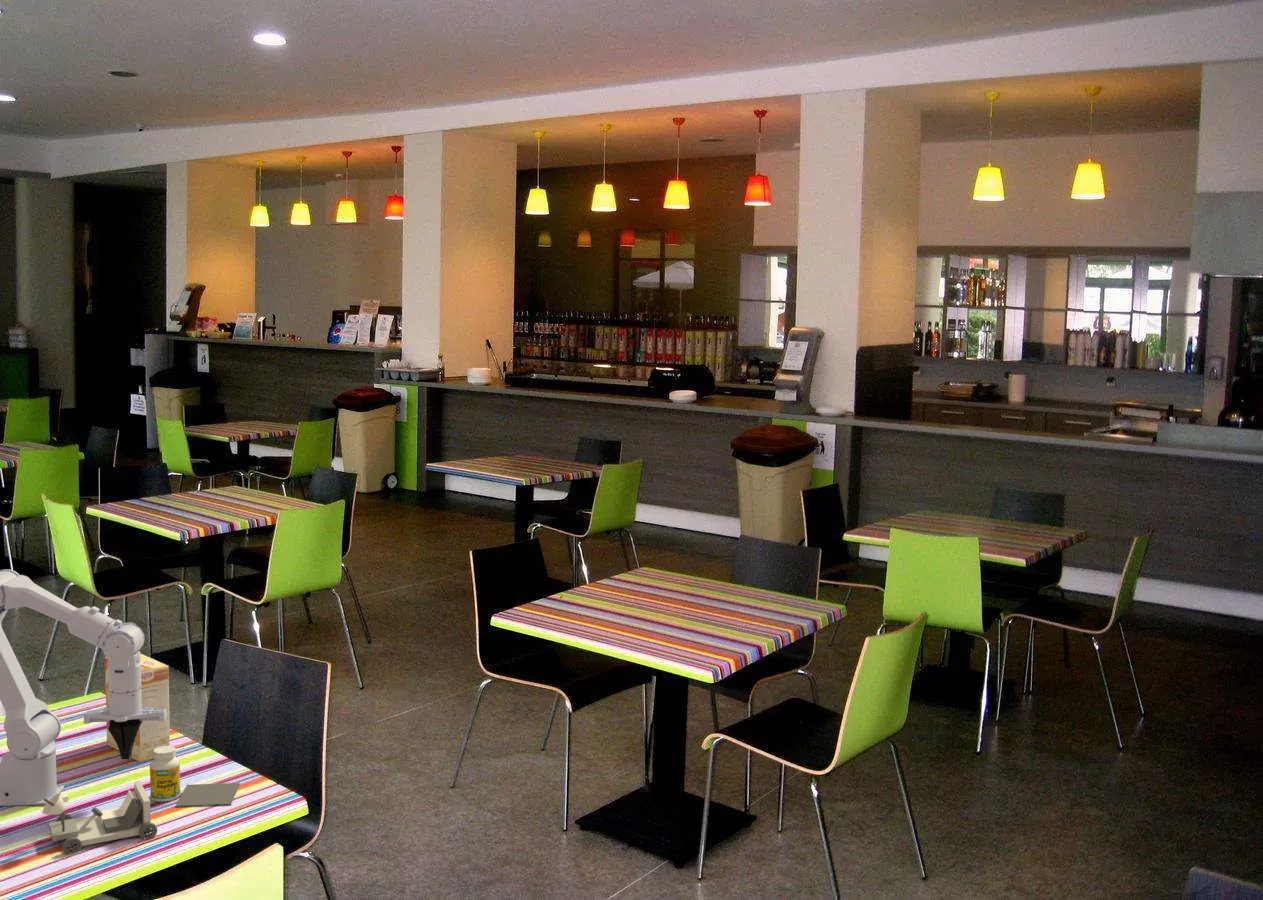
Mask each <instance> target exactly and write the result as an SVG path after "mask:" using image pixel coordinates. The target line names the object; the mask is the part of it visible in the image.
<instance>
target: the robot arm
mask: <svg viewBox="0 0 1263 900" xmlns="http://www.w3.org/2000/svg"><path fill="white" fill-rule="evenodd" d="M24 607H25V608H29V609H32V610H34V611H36V612H38V613H41V614H43V615H45V616H47V617H50V618H52V619H54V620H57V621H58V622H61V623H64V624H66V626H67V628H68V632H69V634H72V635H74V636H75V637H77V638H79V639H81V640H83V641H85V642H87V643H89V644H91V645H93V646H95V647H97V648H98V649H101V650H102V653H103V655H104V656H105V657H107V658H108V683H109V708H108V709H106V708H101V709H94V710H90V709H89V710H85V712H84V713H83V724H88V725H89V724H91V723H107V722H110V726H109V727H108V729H109V732H110V733H111V735H112V736H113V738H114V739H115V741H116V743H117V746H118V748H119V750H118V751H119V755H120V759H121V760H122V761H123V760H124V761H125V760H130V758H131V756H132V748H133V744H134V741H135V737H136V735H137V732H138V730H139V727H140V725H141V723H142V721H158V720H159V722H164V721H165V720H166V718H167V709H159V708H148V707H142V702H141V663H140V654H141V651H140V650H141V648H142V647H143V646H144V643H145V633H144V631H143V630H142V628H141V627H139V626H138V625H137V624H136V623H134V622H124V623H123V621H122V620H120V619H114V618H112V617H110V616H109V615H106V614H105V613H101V611H100V609H101V608H99V607H96V606H94V605H93V606H92V607H91V606H88V605H87V606H82V607H76V606H74V605H72V604H70V603H69V602H67V601H65V600H64V599H62V598H61V597H59V596H57V595H55V594H53V593H52V592H50V591H48V590H47V589H45V588H44V587H41V586H40V585H38V584H36V583H34V581H32V579H31V578H30V577H29V576H27V575H24V574H21V575H20V574H19V573H18V572H17V571H16V570H13V569H9V568H8V569H7V568H6V569H0V702H1V704H2V707H3V708H4V711H5V719H4V723H3V728H4V731H5V733H6V746H7V749H8V751H9V752H6V753H4V754H3V755H2V757H1V760H0V807H1V806H2V807H7V806H9V807H10V806H33V805H34V806H37V805H46V803H47V802H46V801H44V799H45V798H46V799H47V800H50V799H51V798H52V797H53V796H54V795H56V794H58V793H59V794H60V795H61V793H62V792H63V791H64V789H65V785H58V780H57V779H58V778H57V777H58V776H57V751H56V750H57V746H56V739H57V738H58V737H59V735H60V733H61V730H62V724H61V720H60V719H59V717H58V716H57V715H56V714H55V713H53V712H52V711H51V710H50V708H49V707H48V705H47V703H45V702H44V701H42V700H40V699H38V698H36V696H35V694H34V692H33V689H32V688H31V686H30V685H31V684H30V683H29V681H28V679H27V677H26V675H25V672H24V671H23V669H22V667H21V665H20V663H19V661H18V658H17V657H16V654H15V653H14V650H13V648H12V646H11V644H10V642H9V640H8V638H7V636H6V633H5V632H4V629H3V627H2V622H3V621H4V618H5V616H6V614H7V612H8V610H12V609H18V608H24Z"/></svg>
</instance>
